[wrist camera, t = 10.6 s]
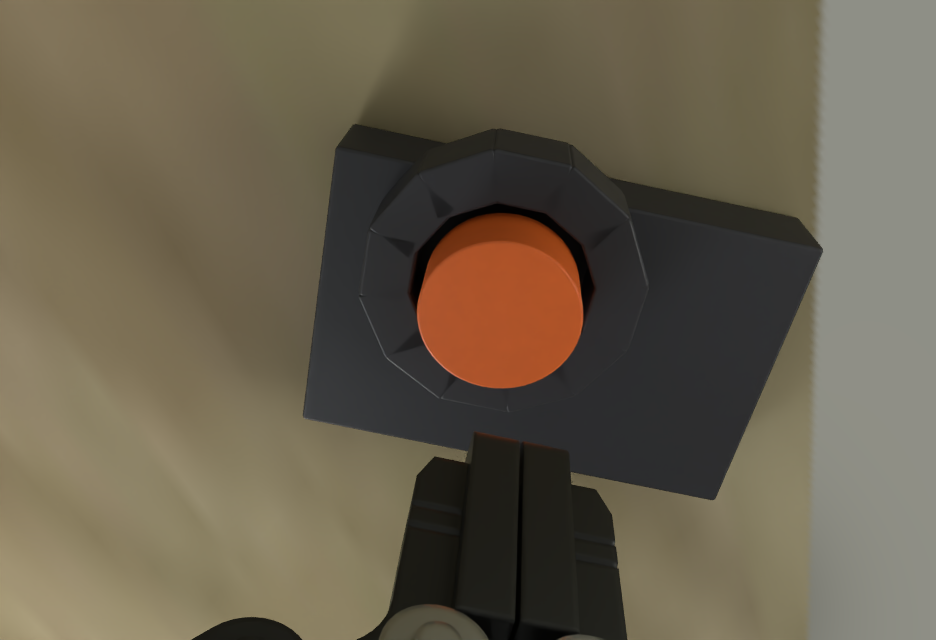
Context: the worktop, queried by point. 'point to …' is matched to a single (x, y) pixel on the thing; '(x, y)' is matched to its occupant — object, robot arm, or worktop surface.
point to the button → (501, 301)
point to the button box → (603, 297)
